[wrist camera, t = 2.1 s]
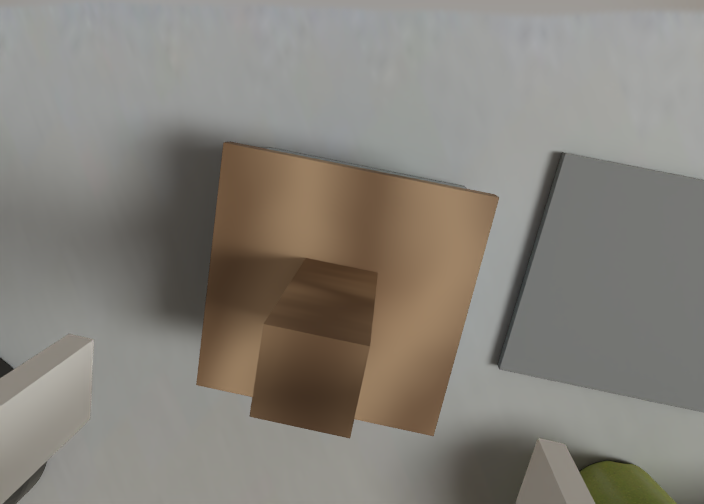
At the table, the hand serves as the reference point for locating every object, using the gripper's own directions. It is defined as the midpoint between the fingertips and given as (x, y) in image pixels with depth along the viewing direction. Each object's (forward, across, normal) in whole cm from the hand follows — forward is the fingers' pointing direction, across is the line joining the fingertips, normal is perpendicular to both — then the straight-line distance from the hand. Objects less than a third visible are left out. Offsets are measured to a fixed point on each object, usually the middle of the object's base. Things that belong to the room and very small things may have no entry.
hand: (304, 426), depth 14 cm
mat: (+18, +18, +2) cm, 25 cm away
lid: (+11, 0, 0) cm, 11 cm away
